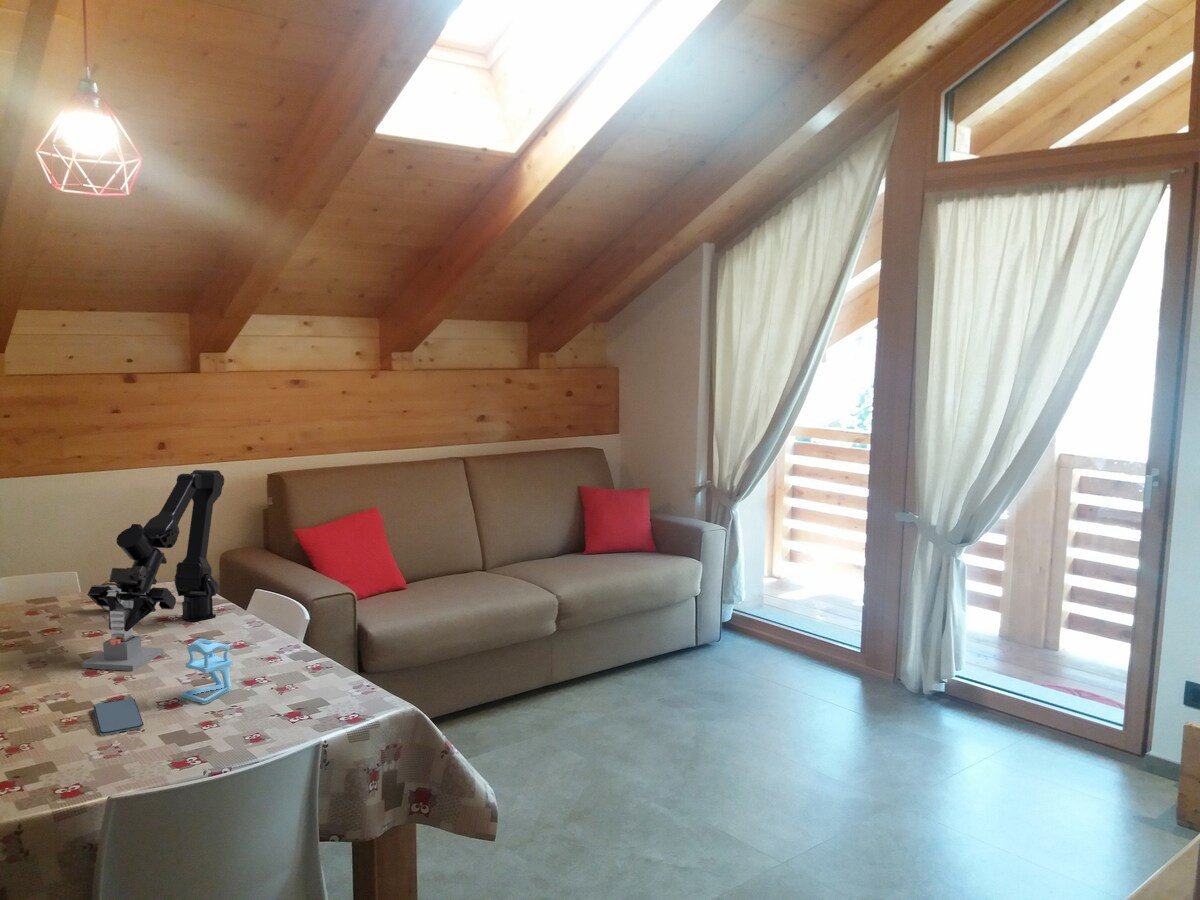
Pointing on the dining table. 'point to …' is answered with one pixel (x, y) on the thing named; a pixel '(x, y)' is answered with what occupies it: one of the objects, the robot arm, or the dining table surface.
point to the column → (120, 624)
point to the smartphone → (117, 716)
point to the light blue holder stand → (209, 668)
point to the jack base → (122, 655)
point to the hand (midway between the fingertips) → (118, 630)
